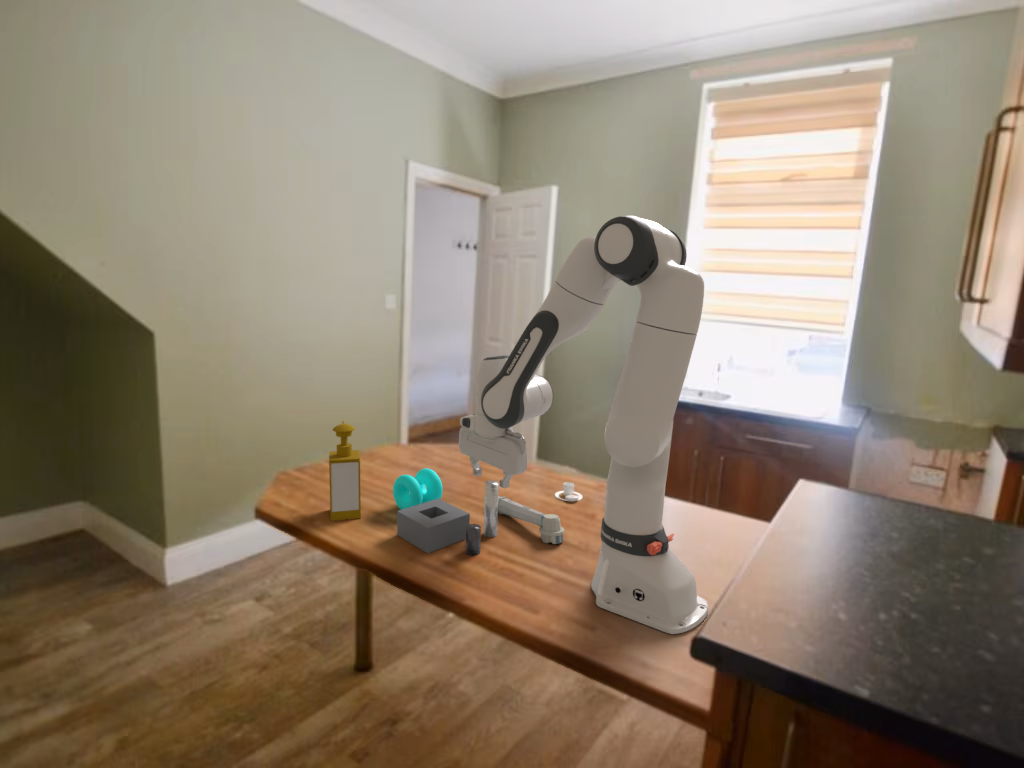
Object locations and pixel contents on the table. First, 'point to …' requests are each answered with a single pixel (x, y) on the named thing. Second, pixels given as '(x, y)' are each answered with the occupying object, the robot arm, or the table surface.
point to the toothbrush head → (534, 519)
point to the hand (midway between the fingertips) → (490, 481)
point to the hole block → (432, 525)
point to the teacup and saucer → (569, 492)
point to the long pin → (491, 508)
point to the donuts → (417, 488)
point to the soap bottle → (344, 477)
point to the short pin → (473, 539)
